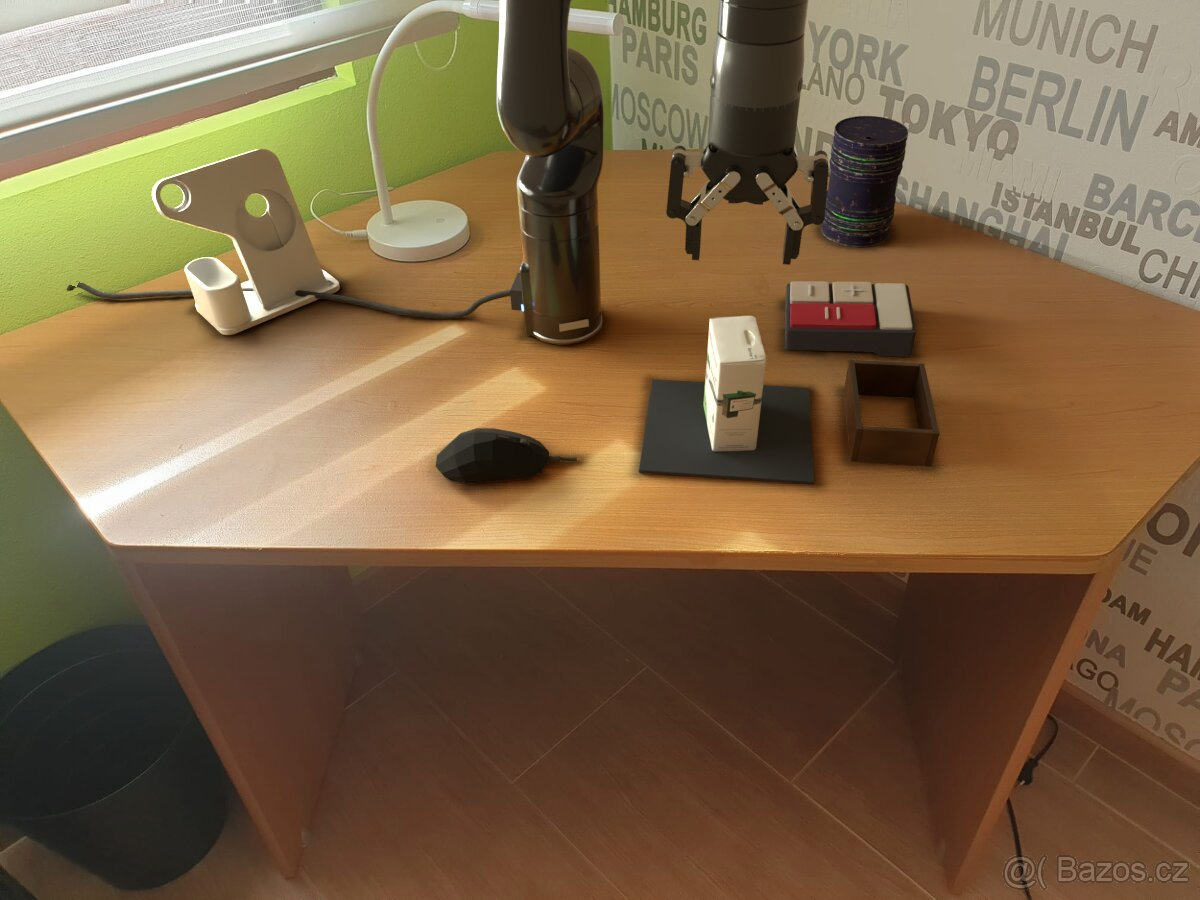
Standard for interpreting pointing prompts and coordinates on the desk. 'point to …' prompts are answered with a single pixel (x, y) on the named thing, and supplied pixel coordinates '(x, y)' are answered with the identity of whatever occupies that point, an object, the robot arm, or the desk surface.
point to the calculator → (849, 317)
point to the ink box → (734, 383)
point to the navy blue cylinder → (863, 180)
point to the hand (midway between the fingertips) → (740, 258)
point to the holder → (890, 441)
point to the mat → (686, 451)
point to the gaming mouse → (493, 457)
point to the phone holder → (247, 241)
